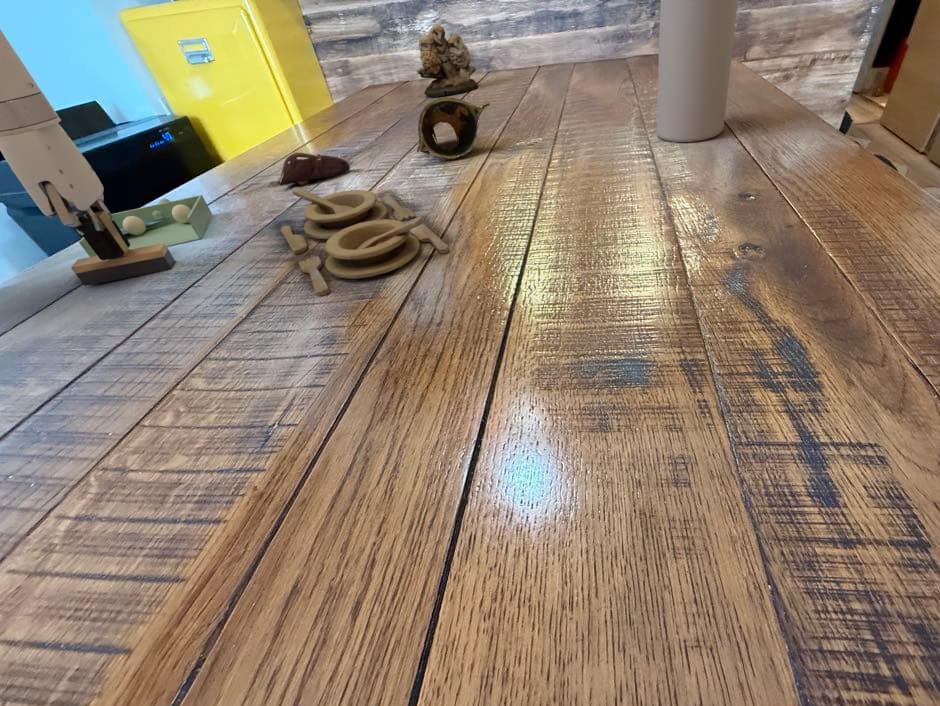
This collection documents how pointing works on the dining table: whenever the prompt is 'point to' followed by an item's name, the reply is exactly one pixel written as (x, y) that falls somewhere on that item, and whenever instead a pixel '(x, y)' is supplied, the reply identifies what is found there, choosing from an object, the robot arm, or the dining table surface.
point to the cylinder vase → (694, 67)
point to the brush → (122, 260)
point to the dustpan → (162, 232)
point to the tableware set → (358, 235)
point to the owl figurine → (445, 64)
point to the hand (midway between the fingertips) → (115, 252)
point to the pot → (455, 114)
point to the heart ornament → (310, 168)
